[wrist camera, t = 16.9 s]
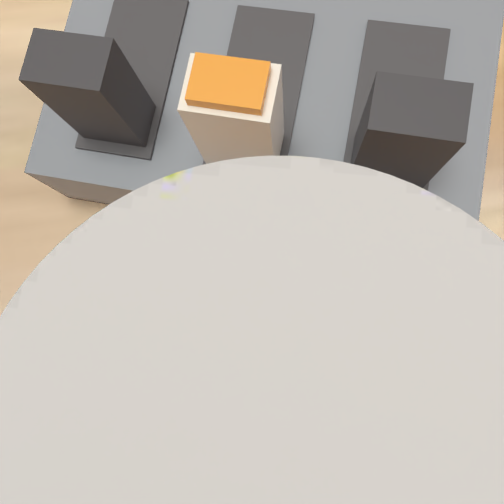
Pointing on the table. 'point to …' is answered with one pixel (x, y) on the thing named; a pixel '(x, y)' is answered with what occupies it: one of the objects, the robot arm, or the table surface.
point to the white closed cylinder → (259, 346)
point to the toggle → (233, 106)
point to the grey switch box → (293, 82)
